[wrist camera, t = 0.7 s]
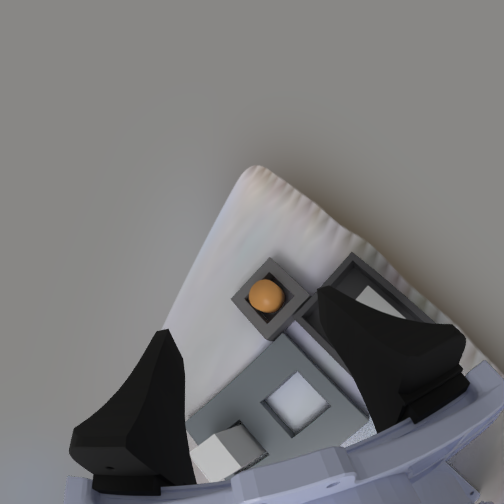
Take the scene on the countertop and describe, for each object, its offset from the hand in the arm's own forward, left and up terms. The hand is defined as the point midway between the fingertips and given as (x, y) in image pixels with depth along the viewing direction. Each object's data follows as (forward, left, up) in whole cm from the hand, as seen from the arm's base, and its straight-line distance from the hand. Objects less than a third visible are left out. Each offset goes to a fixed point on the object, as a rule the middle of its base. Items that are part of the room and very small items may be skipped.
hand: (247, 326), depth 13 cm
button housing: (+7, 0, -16) cm, 17 cm away
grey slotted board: (-3, +10, -16) cm, 19 cm away
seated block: (-3, +14, -16) cm, 21 cm away
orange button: (+7, 0, -15) cm, 16 cm away
